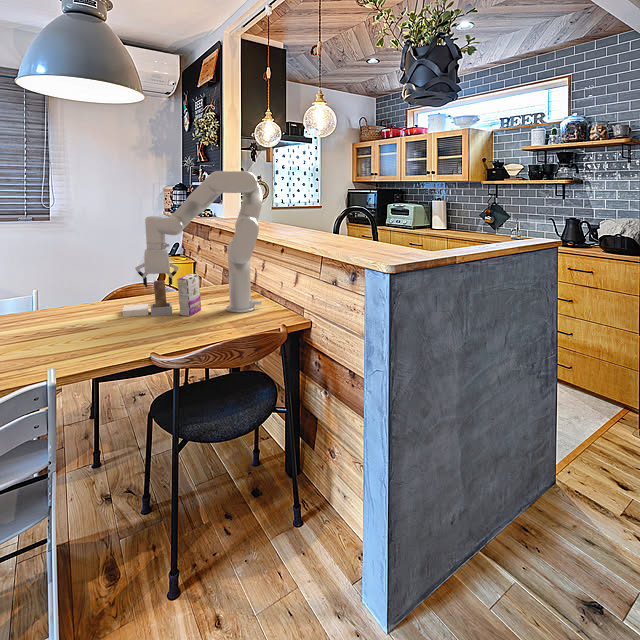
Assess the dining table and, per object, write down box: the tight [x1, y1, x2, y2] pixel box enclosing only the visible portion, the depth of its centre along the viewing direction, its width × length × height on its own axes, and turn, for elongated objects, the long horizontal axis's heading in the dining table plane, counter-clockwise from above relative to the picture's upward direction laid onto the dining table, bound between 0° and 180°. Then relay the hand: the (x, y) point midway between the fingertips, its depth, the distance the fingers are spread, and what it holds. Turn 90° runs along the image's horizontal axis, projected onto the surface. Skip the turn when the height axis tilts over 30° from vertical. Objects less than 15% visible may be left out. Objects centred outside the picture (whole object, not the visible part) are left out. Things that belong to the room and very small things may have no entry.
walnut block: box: [153, 280, 168, 308], centre depth 202 cm, size 4×4×14 cm
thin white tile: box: [122, 303, 149, 318], centre depth 203 cm, size 10×10×2 cm
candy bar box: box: [176, 273, 202, 317], centre depth 203 cm, size 11×5×16 cm, turn 168°
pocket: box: [150, 301, 173, 317], centre depth 203 cm, size 9×9×4 cm
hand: (158, 286), depth 201 cm, fingers open, 9 cm apart
